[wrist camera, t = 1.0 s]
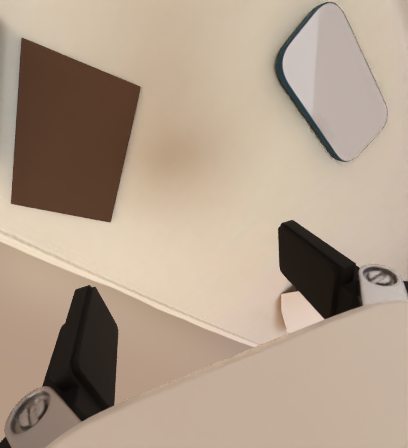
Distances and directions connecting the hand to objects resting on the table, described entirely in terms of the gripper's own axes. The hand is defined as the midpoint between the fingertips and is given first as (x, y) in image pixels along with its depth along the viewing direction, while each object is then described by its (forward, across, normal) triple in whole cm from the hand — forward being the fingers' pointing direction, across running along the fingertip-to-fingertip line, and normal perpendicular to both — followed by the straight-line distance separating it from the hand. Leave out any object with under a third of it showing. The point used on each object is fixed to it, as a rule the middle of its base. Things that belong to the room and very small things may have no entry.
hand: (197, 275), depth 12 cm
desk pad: (+28, +9, -5) cm, 30 cm away
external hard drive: (+28, -31, -3) cm, 42 cm away
